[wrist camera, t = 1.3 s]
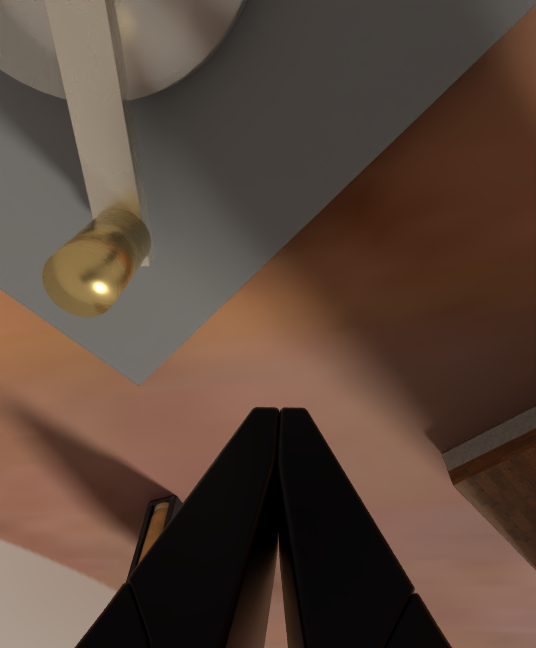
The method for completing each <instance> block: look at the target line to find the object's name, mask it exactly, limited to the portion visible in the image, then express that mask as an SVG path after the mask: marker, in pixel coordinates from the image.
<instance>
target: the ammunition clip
mask: <svg viewBox="0 0 536 648" xmlns="http://www.w3.org/2000/svg"><path fill="white" fill-rule="evenodd" d="M182 504H183V503H182V502H181V501H180V499H179V498H178V497H177V496H176V497H175V496H172V497H169V498H165V499H161V500H157V501H154V502H150V503H149V504H148V507H147V511H146V514H145V518H144V522H143V525H142V529H141V532H140V536H139V539H138V543H137V546H136V550H135V553H134V556H133V560H132V563H131V567H130V570H129V574H128V577H129V576H130V574H131V573H132V572H133V570H134V569H135V568H136V566H137V565H138V564H139V562H140V561H141V560H142V558H143V557H144V555H145V554H146V553H147V551H148V550H149V549H150V547H151V546H152V545H153V543H154V542H155V541H156V539H157V538H158V536H159V535H160V534H161V532H162V531H163V530H164V528H165V527H166V526H167V524H168V523H169V522H170V520H171V519H172V518H173V516H174V515H175V513H176V512H177V511H178V509H179V508H180V507H181V505H182ZM128 577H127V581H126V583H128ZM128 584H129V583H128Z"/></svg>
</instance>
